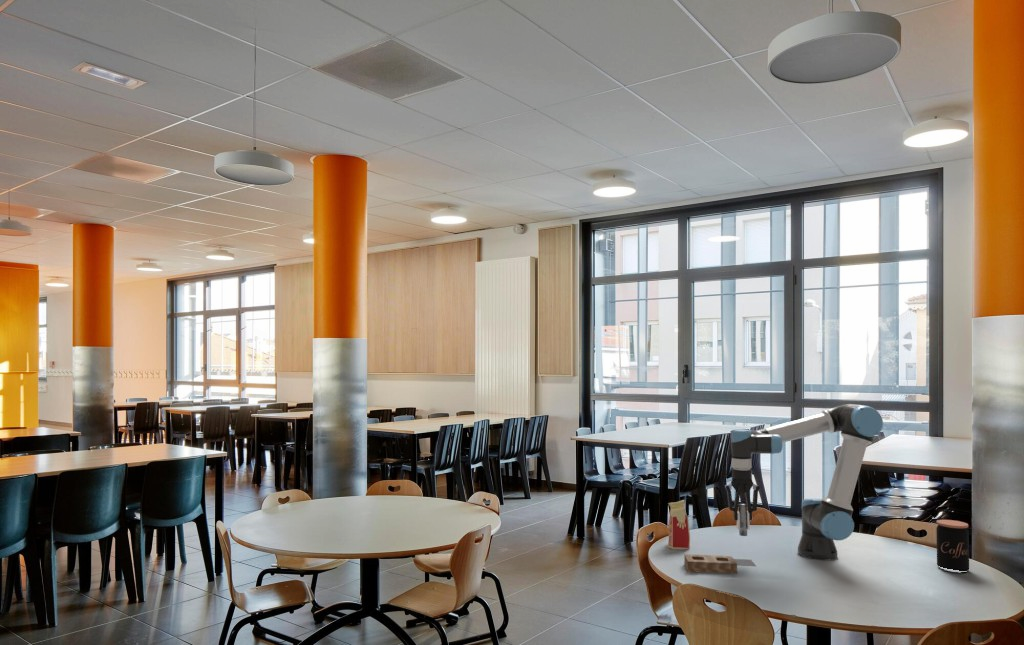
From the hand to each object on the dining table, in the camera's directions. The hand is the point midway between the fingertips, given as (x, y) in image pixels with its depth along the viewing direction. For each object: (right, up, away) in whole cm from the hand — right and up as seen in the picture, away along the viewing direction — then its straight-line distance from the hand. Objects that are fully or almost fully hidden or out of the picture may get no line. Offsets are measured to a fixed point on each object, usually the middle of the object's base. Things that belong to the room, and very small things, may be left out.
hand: (743, 528), depth 275 cm
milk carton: (-20, -15, +22) cm, 34 cm away
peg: (0, -3, 0) cm, 3 cm away
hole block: (-16, -13, -9) cm, 22 cm away
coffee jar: (+80, -15, -5) cm, 82 cm away
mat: (-1, -14, -1) cm, 14 cm away
